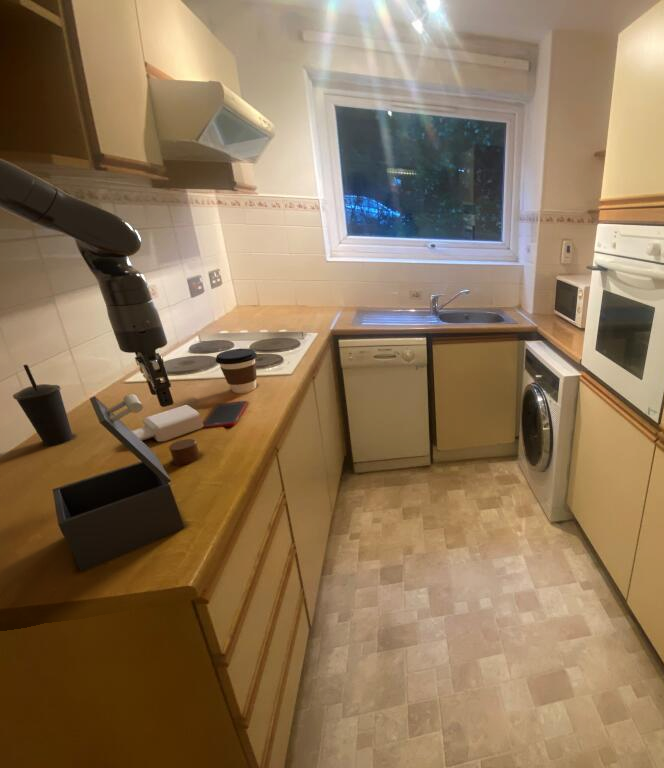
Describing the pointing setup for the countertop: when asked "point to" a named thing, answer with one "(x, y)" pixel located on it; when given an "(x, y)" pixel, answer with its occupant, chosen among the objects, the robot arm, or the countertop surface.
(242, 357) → the coffee cup
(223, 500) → the countertop surface
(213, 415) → the cell phone
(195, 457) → the coffee pod
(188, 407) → the charger
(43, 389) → the drinking cup
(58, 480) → the countertop surface
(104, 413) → the lid
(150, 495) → the open grey storage box
